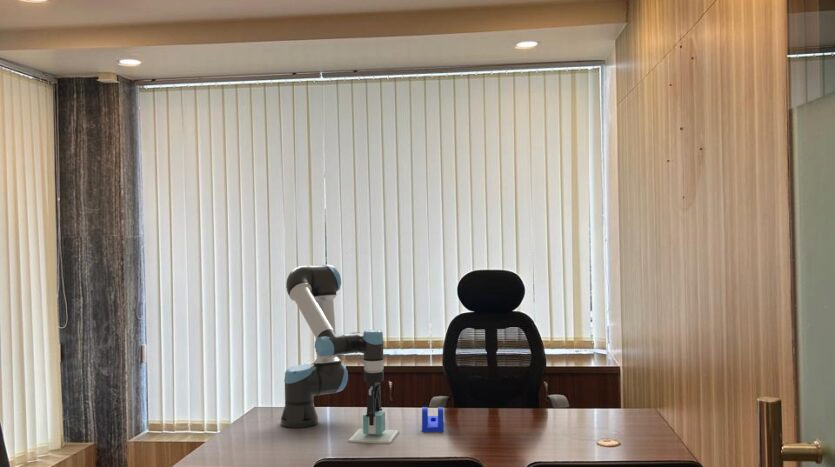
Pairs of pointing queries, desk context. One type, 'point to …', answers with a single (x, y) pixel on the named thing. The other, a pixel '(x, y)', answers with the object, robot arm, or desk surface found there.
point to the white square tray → (374, 437)
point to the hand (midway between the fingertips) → (374, 430)
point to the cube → (379, 422)
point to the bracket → (432, 421)
